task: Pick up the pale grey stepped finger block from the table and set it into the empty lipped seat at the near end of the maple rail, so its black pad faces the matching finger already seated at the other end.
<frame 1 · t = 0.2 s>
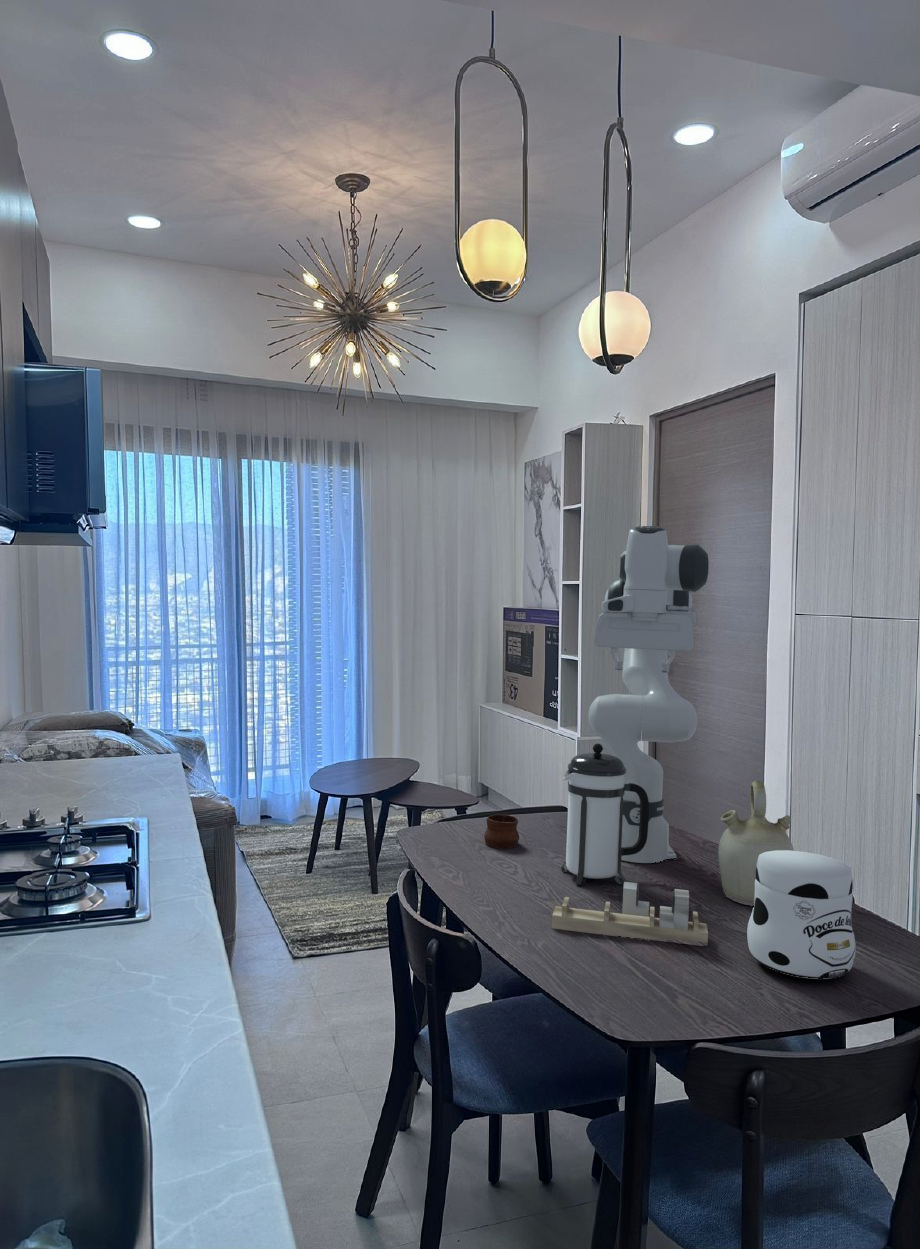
hand: (641, 671, 179), 47 cm above the table, tool pointing down, fingers open, 8 cm apart
rail: (628, 932, 161), on the table
coffee press: (597, 877, 193), on the table
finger: (635, 916, 170), on the table
jug: (753, 899, 183), on the table
milk container: (798, 967, 149), on the table
ceramic pot: (501, 846, 216), on the table
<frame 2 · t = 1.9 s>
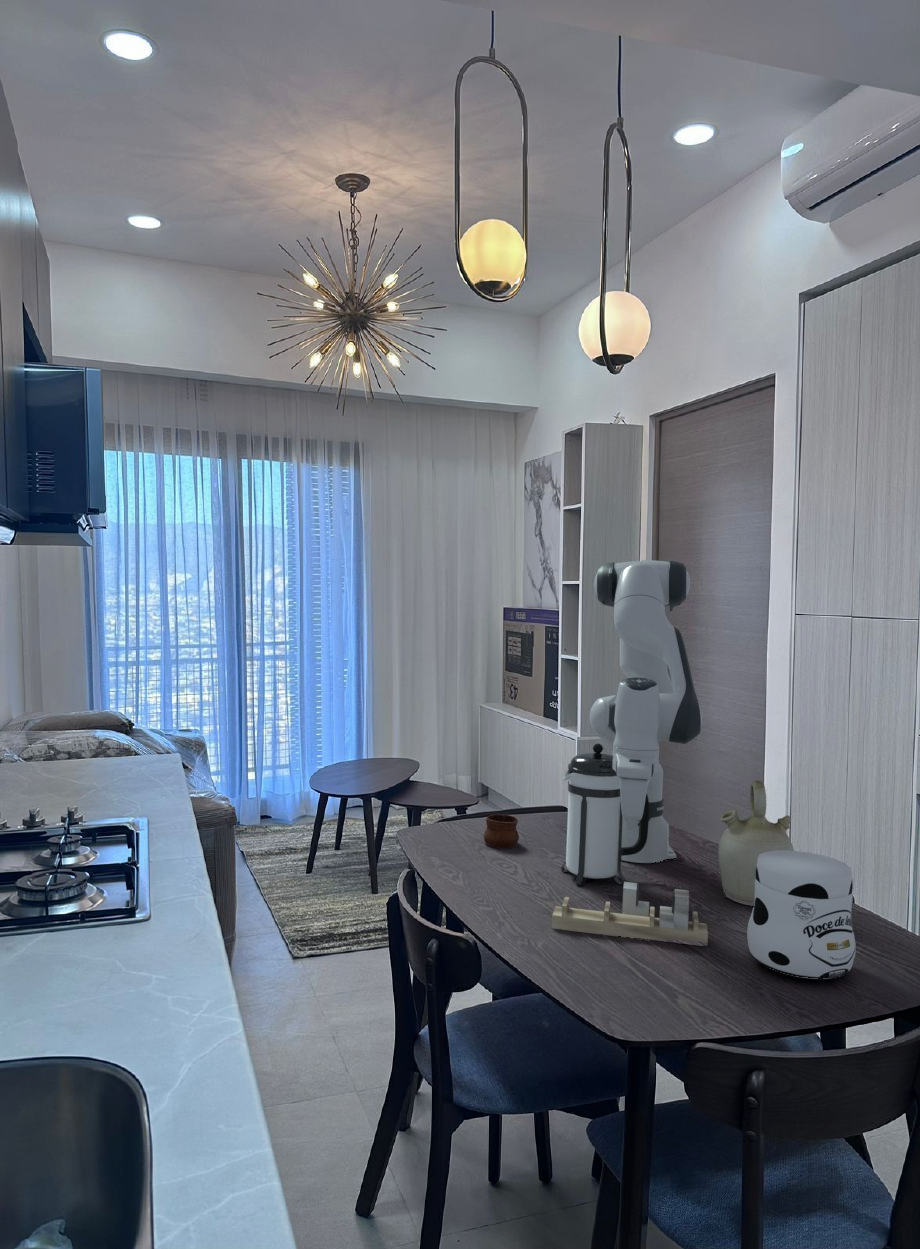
hand: (632, 832, 170), 17 cm above the table, tool pointing down, fingers open, 8 cm apart
nothing on the table moved.
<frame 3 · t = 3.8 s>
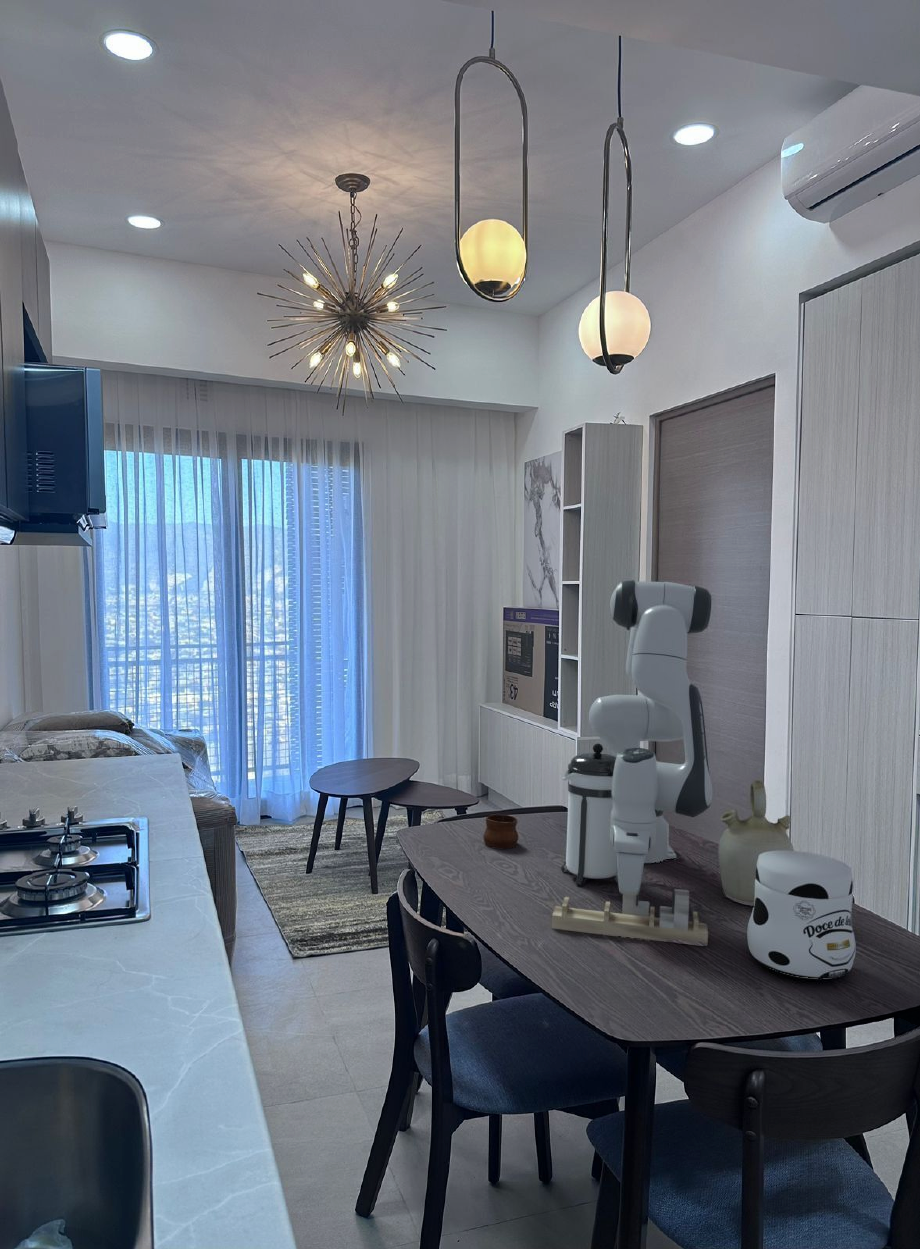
hand: (629, 902, 170), 3 cm above the table, tool pointing down, fingers closed on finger, 4 cm apart
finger: (635, 916, 170), on the table, touching gripper
everything else where it was.
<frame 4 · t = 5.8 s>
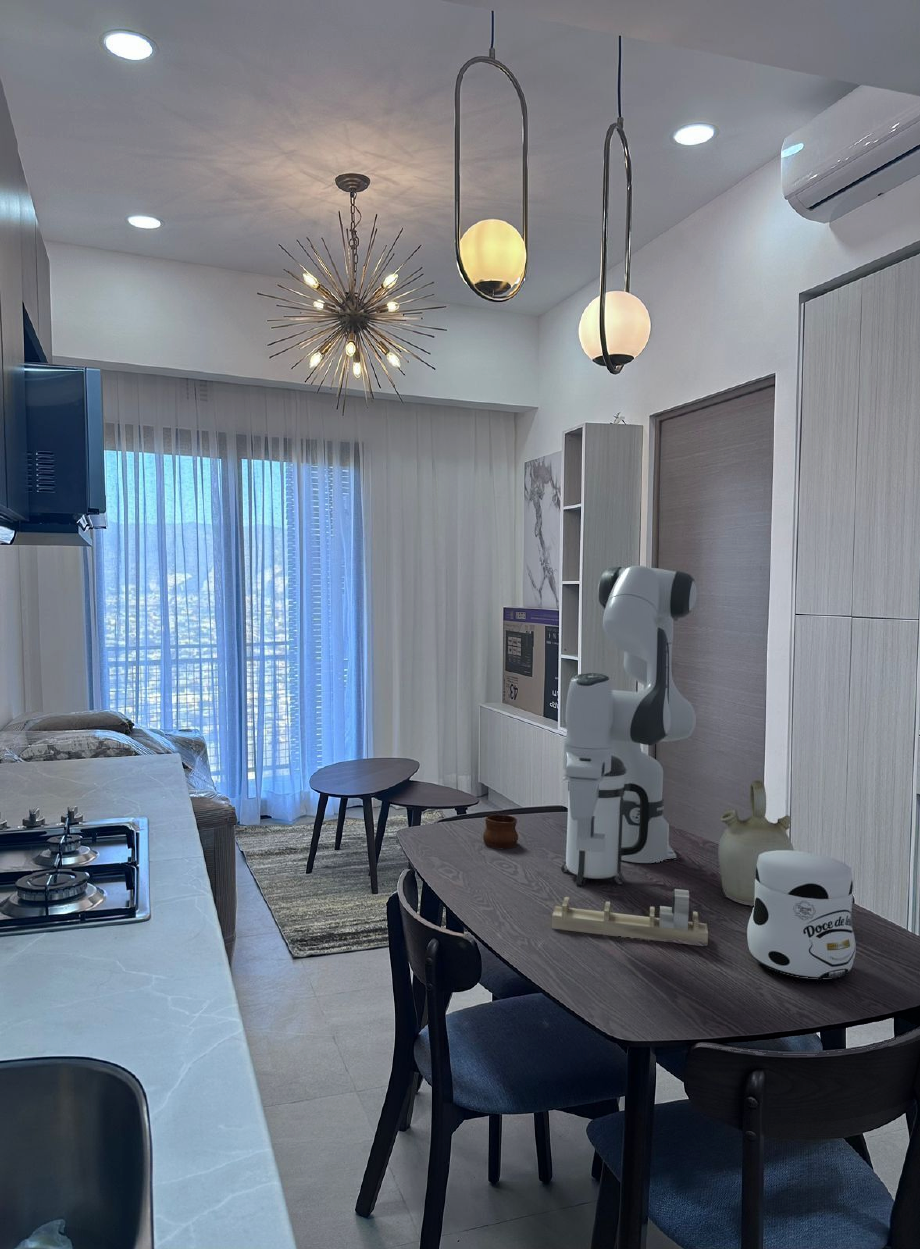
hand: (584, 834, 163), 18 cm above the table, tool pointing down, fingers closed on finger, 4 cm apart
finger: (590, 848, 162), point 15 cm above the table, touching gripper
everything else where it was.
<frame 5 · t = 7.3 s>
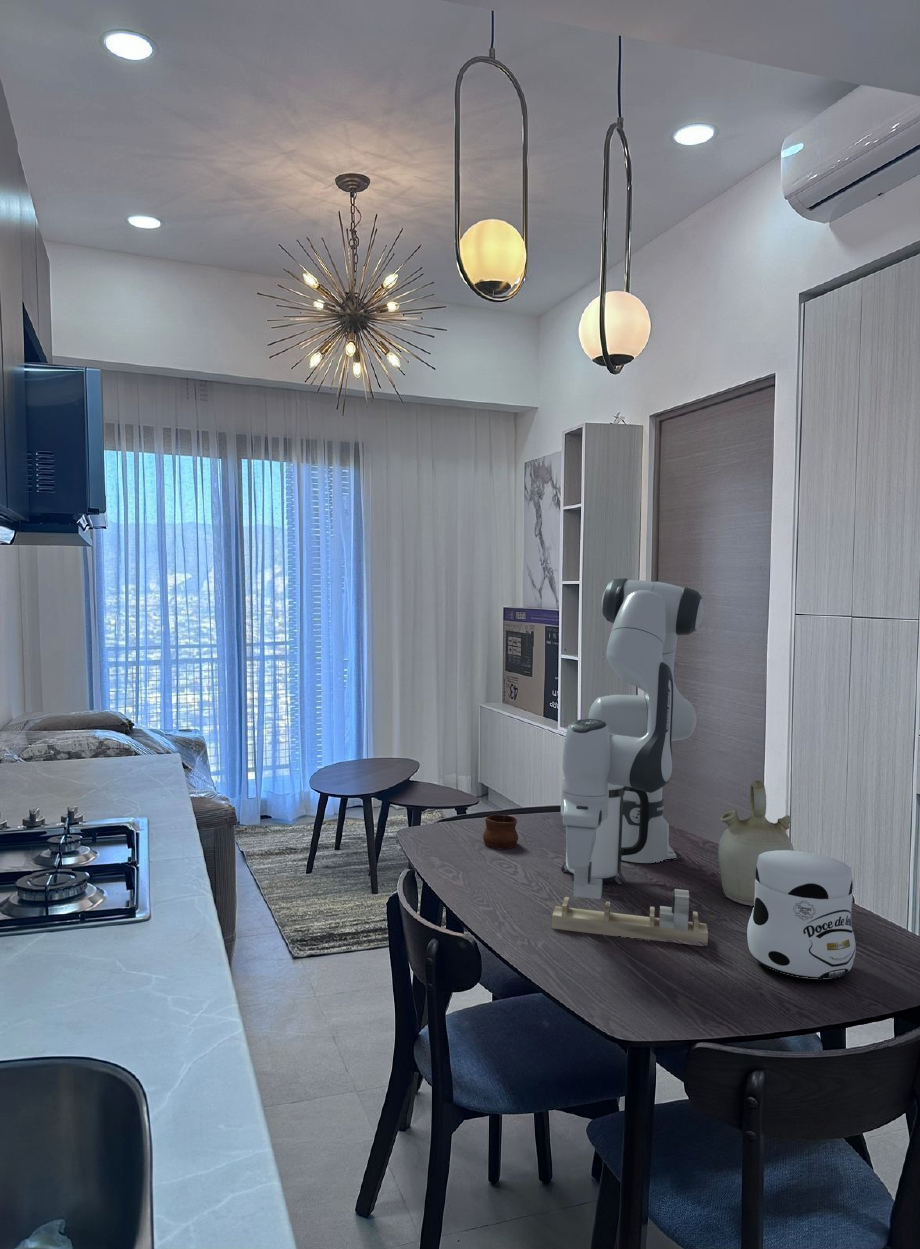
hand: (581, 879, 163), 9 cm above the table, tool pointing down, fingers closed on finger, 4 cm apart
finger: (587, 894, 163), point 6 cm above the table, touching gripper
everything else where it was.
when the fingers open (7 cm above the table, at t = 8.1 s): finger drops 1 cm, resting on rail.
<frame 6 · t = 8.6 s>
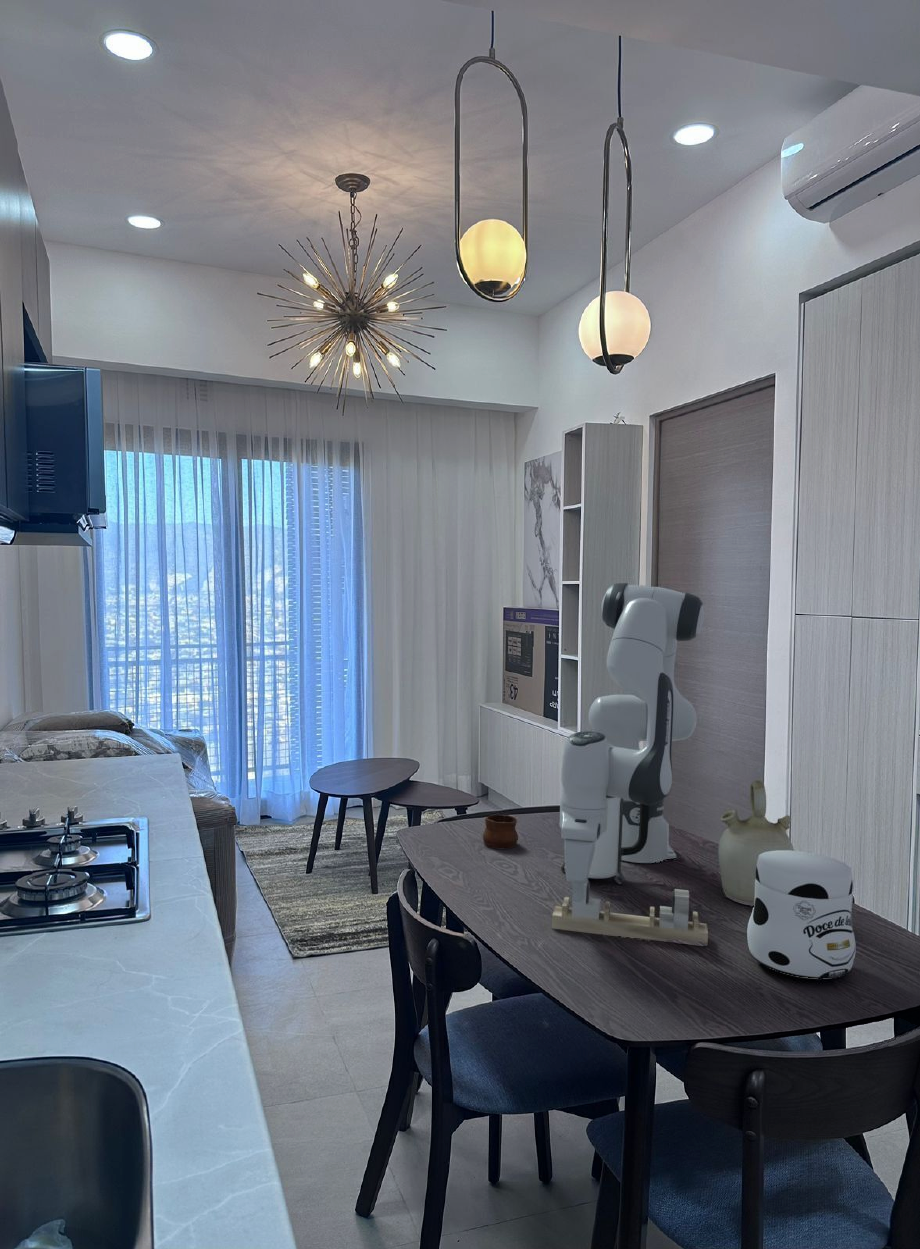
hand: (580, 892, 163), 7 cm above the table, tool pointing down, fingers open, 8 cm apart
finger: (585, 914, 163), point 2 cm above the table, touching rail
everything else where it was.
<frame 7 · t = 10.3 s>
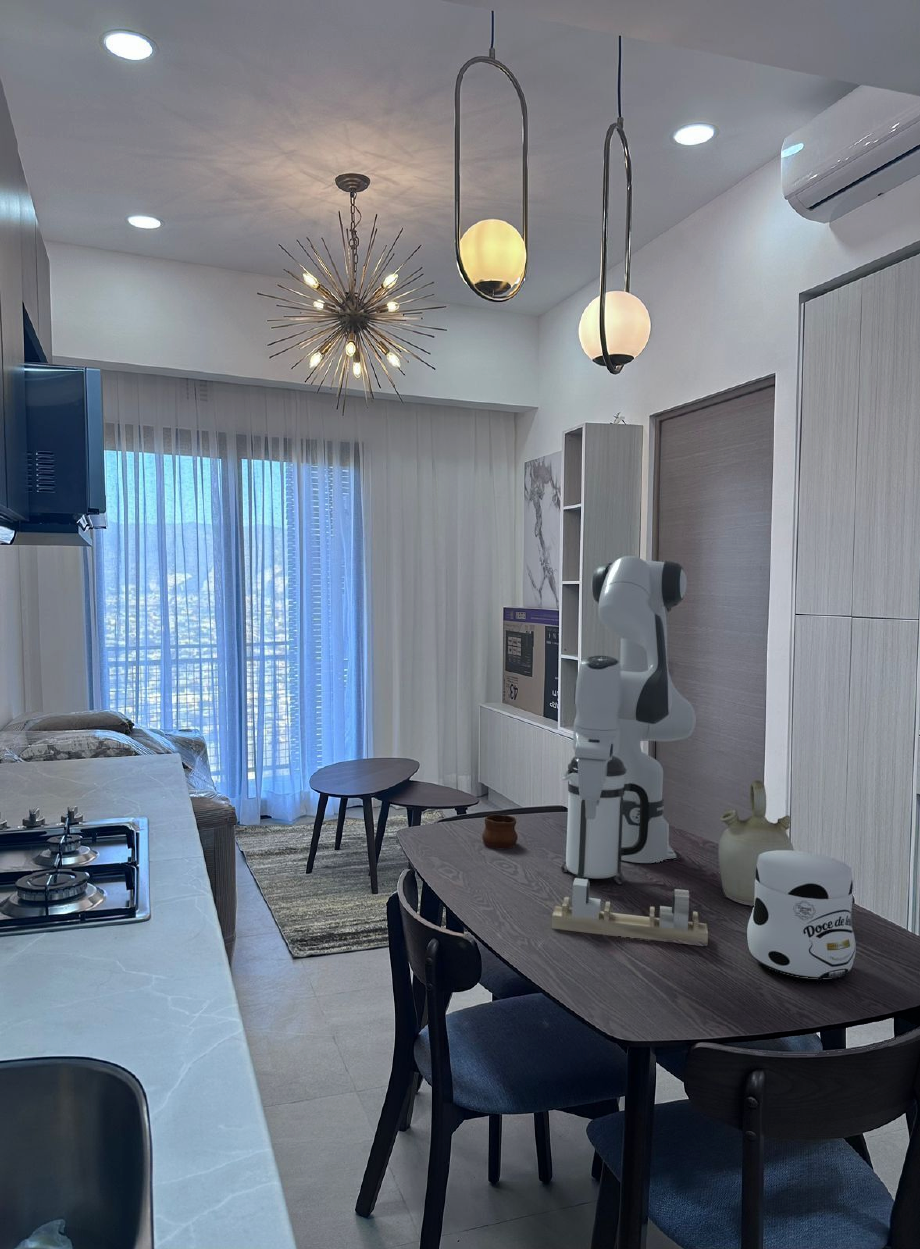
hand: (592, 811, 168), 21 cm above the table, tool pointing down, fingers open, 8 cm apart
nothing on the table moved.
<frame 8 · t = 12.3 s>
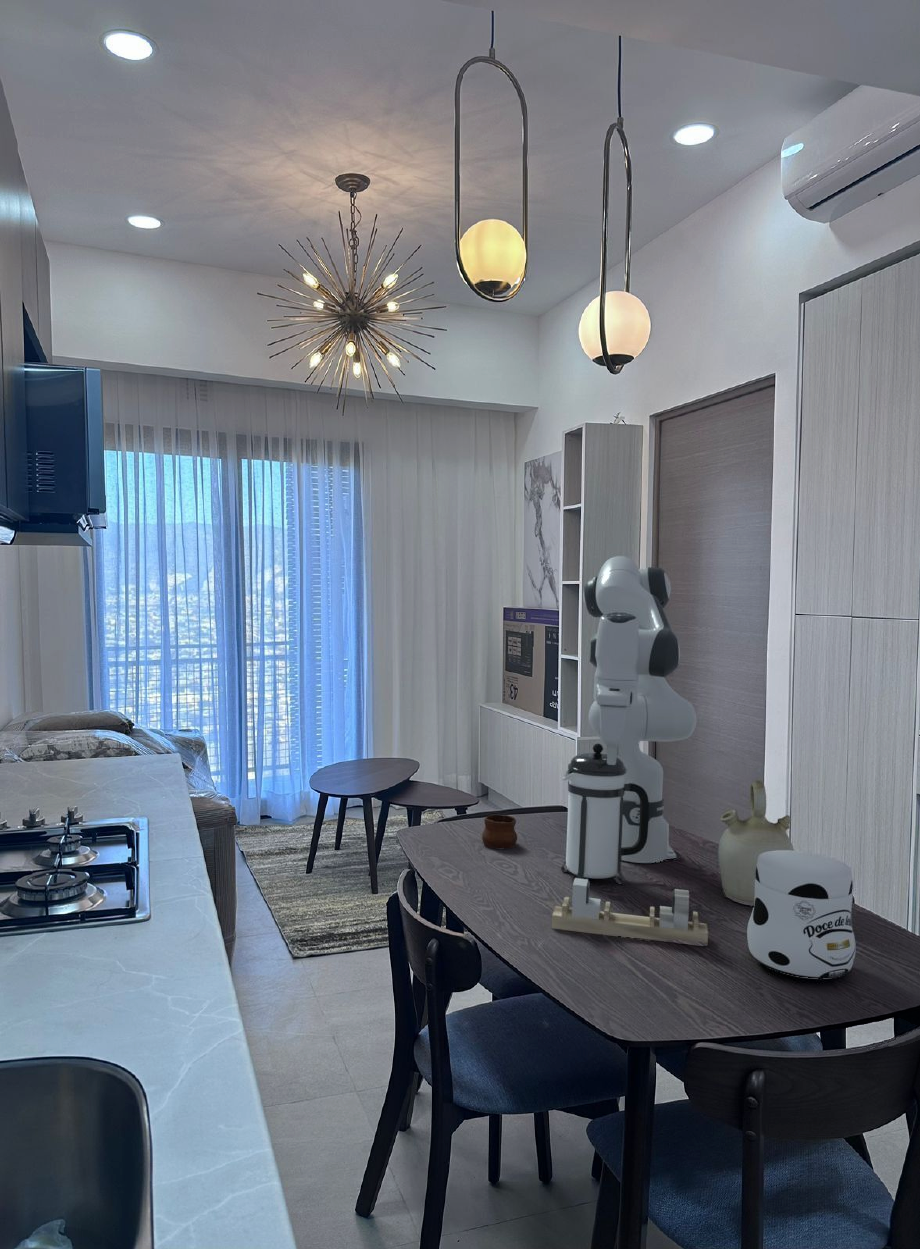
hand: (612, 760, 177), 29 cm above the table, tool pointing down, fingers open, 8 cm apart
at the end: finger 0.0 cm from the target spot on the rail, point 2.5 cm above the rail's base; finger tilted 0°; the gripper is holding nothing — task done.
